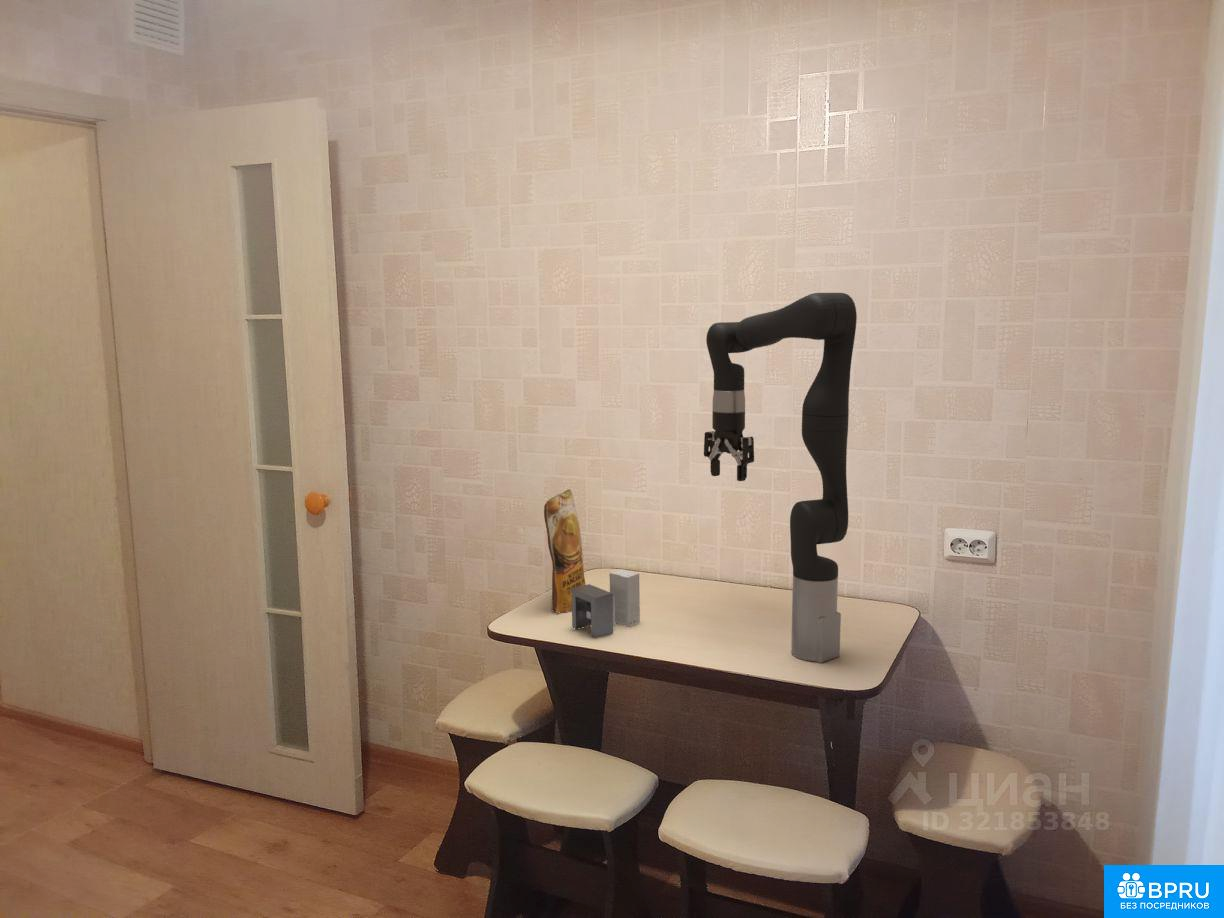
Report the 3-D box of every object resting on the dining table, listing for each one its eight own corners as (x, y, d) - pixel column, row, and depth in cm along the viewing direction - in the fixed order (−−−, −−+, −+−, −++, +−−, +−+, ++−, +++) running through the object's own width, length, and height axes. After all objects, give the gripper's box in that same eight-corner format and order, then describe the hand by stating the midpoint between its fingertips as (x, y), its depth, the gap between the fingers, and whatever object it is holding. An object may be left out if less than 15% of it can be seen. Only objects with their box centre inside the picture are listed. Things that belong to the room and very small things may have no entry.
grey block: (615, 626, 211) (615, 596, 210) (595, 631, 208) (594, 602, 207) (590, 615, 219) (590, 586, 218) (570, 620, 215) (569, 591, 214)
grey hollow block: (634, 627, 212) (634, 587, 211) (595, 638, 205) (594, 597, 204) (603, 614, 222) (603, 576, 220) (564, 624, 215) (564, 585, 213)
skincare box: (640, 622, 215) (640, 573, 213) (628, 627, 212) (627, 577, 210) (621, 617, 220) (621, 568, 218) (609, 621, 216) (608, 572, 214)
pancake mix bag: (537, 614, 222) (534, 500, 218) (572, 591, 239) (569, 486, 235) (562, 617, 219) (559, 503, 215) (595, 594, 237) (593, 487, 232)
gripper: (762, 410, 209) (761, 480, 212) (719, 405, 221) (718, 472, 223) (739, 413, 205) (738, 484, 208) (695, 408, 216) (695, 476, 219)
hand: (728, 478), depth 215 cm, fingers open, 8 cm apart
